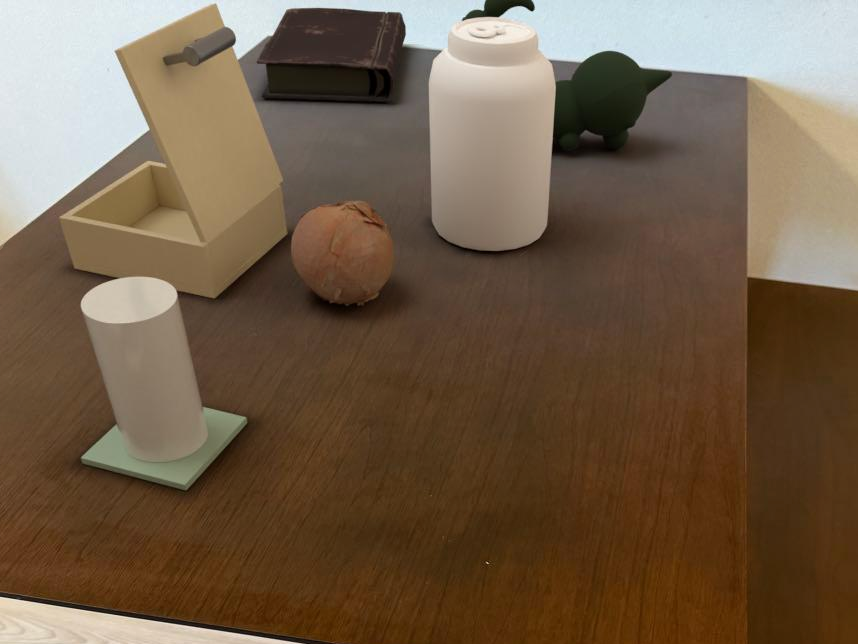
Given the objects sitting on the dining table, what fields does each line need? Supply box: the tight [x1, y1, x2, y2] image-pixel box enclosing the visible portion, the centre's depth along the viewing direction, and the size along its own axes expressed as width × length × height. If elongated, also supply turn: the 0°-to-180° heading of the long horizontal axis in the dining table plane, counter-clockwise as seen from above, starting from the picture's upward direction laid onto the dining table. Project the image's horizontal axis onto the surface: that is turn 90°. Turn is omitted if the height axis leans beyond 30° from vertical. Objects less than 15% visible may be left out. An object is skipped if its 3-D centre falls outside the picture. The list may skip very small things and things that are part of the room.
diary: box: [256, 7, 407, 103], centre depth 137 cm, size 19×25×5 cm
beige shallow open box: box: [58, 160, 288, 299], centre depth 96 cm, size 16×15×5 cm
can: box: [428, 16, 556, 252], centre depth 98 cm, size 12×12×20 cm
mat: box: [80, 406, 248, 491], centre depth 75 cm, size 9×9×1 cm
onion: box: [290, 199, 395, 307], centre depth 90 cm, size 10×9×10 cm
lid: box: [114, 3, 284, 243], centre depth 87 cm, size 16×15×4 cm
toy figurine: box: [461, 0, 673, 152], centre depth 116 cm, size 9×19×25 cm
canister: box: [80, 277, 208, 463], centre depth 71 cm, size 6×6×12 cm
